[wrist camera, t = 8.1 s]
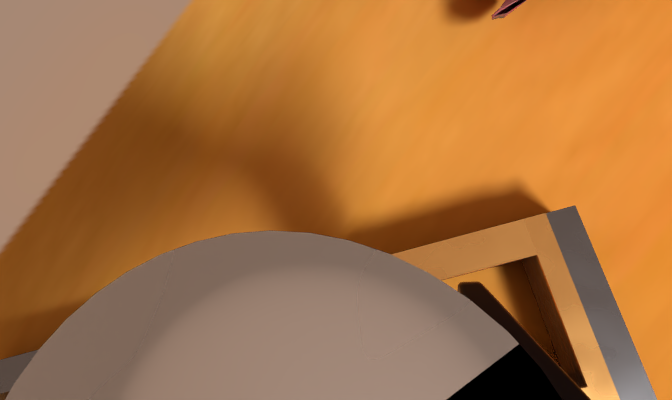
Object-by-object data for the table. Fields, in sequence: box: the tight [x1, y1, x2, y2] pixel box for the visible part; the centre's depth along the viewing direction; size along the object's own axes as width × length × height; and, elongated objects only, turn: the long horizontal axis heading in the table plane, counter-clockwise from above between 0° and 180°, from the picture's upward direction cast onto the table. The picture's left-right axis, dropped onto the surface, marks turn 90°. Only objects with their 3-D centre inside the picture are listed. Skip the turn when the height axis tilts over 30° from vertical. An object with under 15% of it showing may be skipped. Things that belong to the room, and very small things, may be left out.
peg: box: [5, 231, 562, 400], centre depth 9 cm, size 4×4×14 cm
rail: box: [0, 206, 657, 400], centre depth 20 cm, size 33×9×3 cm, turn 105°
